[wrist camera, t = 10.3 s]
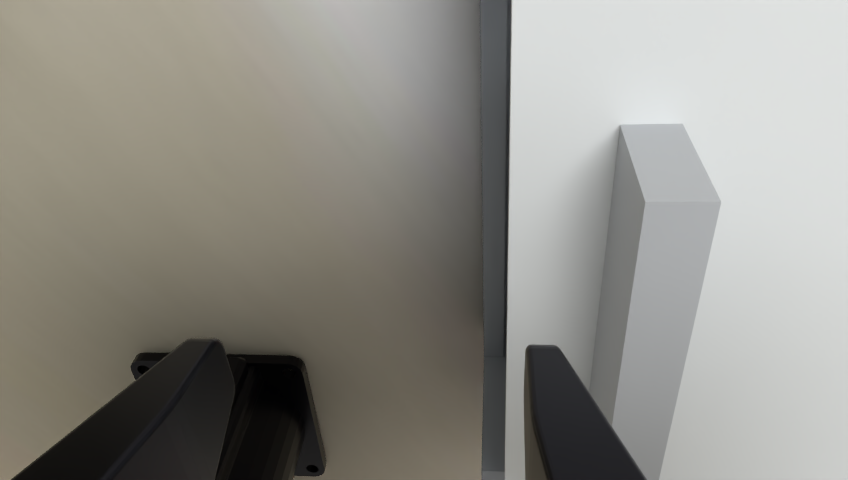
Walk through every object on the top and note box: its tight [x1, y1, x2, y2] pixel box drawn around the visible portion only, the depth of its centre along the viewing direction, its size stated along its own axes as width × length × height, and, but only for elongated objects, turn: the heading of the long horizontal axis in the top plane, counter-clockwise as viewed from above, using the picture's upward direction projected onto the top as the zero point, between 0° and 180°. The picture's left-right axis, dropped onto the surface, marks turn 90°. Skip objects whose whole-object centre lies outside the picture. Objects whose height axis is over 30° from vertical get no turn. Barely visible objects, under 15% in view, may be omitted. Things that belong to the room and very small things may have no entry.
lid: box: [505, 0, 848, 480], centre depth 12 cm, size 13×12×3 cm
